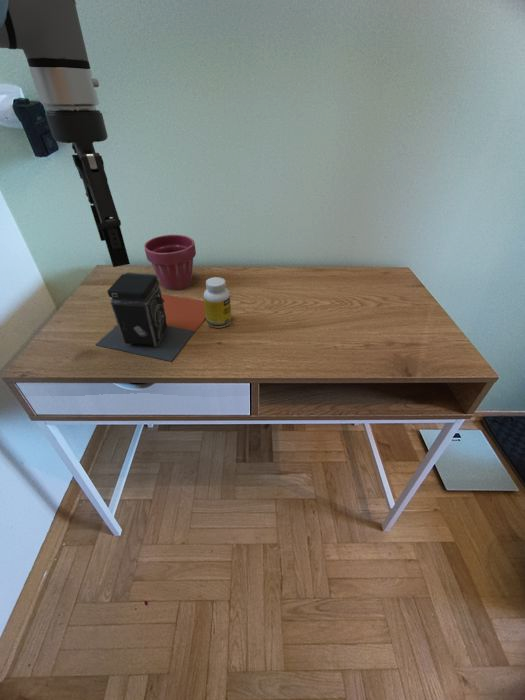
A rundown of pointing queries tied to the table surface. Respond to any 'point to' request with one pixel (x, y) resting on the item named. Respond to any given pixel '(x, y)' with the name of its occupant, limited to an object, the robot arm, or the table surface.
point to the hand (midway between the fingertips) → (114, 251)
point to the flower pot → (172, 259)
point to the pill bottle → (217, 303)
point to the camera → (139, 308)
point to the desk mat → (180, 324)
